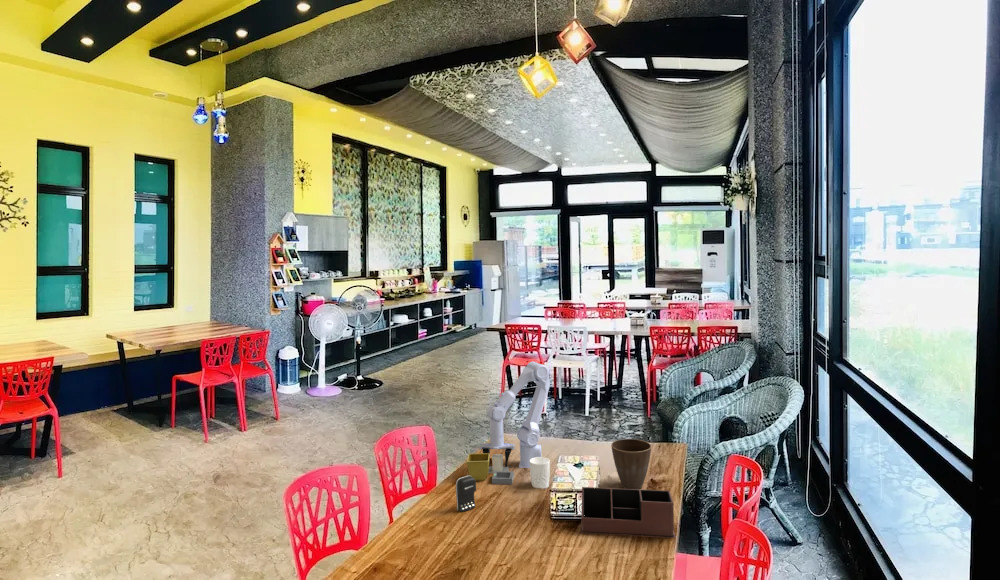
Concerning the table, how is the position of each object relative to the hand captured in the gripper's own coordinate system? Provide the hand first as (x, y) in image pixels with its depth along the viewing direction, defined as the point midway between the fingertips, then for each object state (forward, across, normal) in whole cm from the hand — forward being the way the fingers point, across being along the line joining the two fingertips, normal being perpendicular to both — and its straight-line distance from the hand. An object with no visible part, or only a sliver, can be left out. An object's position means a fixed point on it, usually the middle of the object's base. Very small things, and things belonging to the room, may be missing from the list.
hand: (497, 466), depth 234 cm
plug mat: (+2, 0, 0) cm, 2 cm away
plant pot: (+2, +54, -14) cm, 55 cm away
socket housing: (+2, +4, -11) cm, 12 cm away
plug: (+2, 0, 0) cm, 2 cm away
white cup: (+2, +18, -15) cm, 24 cm away
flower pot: (+2, -6, -9) cm, 11 cm away
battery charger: (+2, -6, -37) cm, 38 cm away
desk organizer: (+2, +48, -48) cm, 68 cm away
